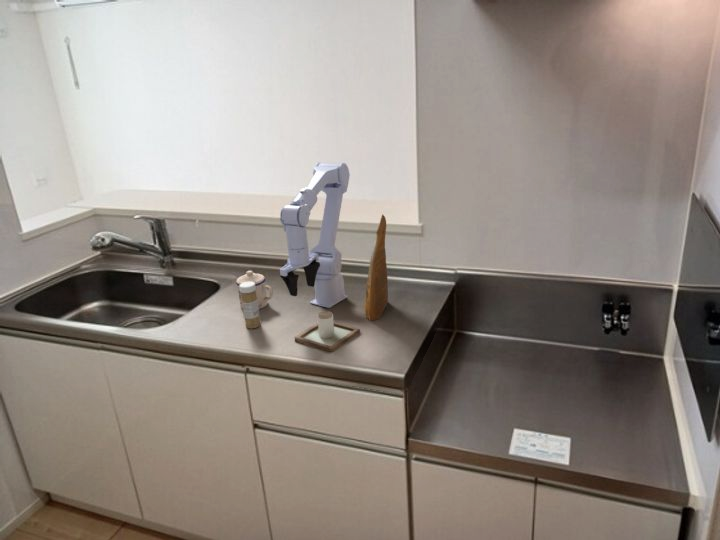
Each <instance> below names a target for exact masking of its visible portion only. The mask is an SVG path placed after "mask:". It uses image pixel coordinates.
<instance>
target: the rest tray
mask: <svg viewBox="0 0 720 540" xmlns="http://www.w3.org/2000/svg"><path fill="white" fill-rule="evenodd" d="M334 332H335V335H334V336H333V337H332V338H329V339H323V338H320V337H319V330H318V322H316V323H315V324H313V325H312V326H310V327H309V328H307V329H305V330H304V331H302V332H301V333H299V334H298V335H296V336H294V341H295V342H297V343H301V344H303V345H306V346H309V347H312V348H316V349H318V350H321V351H325V352H329V353H333V352H334V351H336V350H338V349H339V348H340V347H342V346H343V345H344V344H346V343H347V342H349V341H350V340H352V339H353V338H355V337H356V336H357V335H359V334H360V333H361V330H360V328H358V327H354V326H351V325H347V324H344V323H340V322H338V321H337V322H336V321H334Z"/></svg>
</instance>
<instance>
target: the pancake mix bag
mask: <svg viewBox="0 0 720 540" xmlns="http://www.w3.org/2000/svg"><path fill="white" fill-rule="evenodd" d="M386 219H387V218H386V217H385V215H384V214H383V213H382V214H381V218H380V220H379V223H378V225H377V229H376V230H377V231H376V233H375V237H374V238H375V239H374V243H373V246H372V251H371V256H370V261H369V266H368V273H367V279H366V281H367V282H366V289H365V290H366V292H365V304H364V313H365V314H364V315H365V319H369V322H372V321H375V320H378V319H380V318H381V317H382V315H383V314H384V311H385V309H386V308H387V305H388V303H389V283H388V281H389V280H388V279H389V278H388V269H387V267H388V266H387V255H386V254H387V253H386V232H387V231H386V230H387V220H386Z"/></svg>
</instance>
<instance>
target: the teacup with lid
mask: <svg viewBox="0 0 720 540" xmlns="http://www.w3.org/2000/svg"><path fill="white" fill-rule="evenodd" d="M244 282H254V283H255V286H256V297H257V302H258V309H259V310H260V309H263V308H265V307H266V306H267V305H268V303H269V302H268V301H269V300H271V299H272V298H273V295H274V289H273V288H272V287H271V286H270V285H267V284H266V278H265V276H264V275H263V274H260V273H255V272H254V271H253V270H247V271H246V273H245V274H244V275H241V276H239V277H238V278H237V279H236V285H237V291H238V298H239V305H240V309H242V310H243V305H242V296H241V292H240V288H239V286H240V284H241V283H244ZM267 290H268V291H269V297H268V296H267Z"/></svg>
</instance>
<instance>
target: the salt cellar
mask: <svg viewBox="0 0 720 540" xmlns="http://www.w3.org/2000/svg"><path fill="white" fill-rule="evenodd" d="M316 317H317V318H316V319H317V323H318V330H319V337H320V338H323V339H329V338H332V337H333V336H334V335H335V332H334V322H335V320H334V314H333V313H332V312H331V311H330V310H321V311H320V312H318V313H317V316H316Z"/></svg>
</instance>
